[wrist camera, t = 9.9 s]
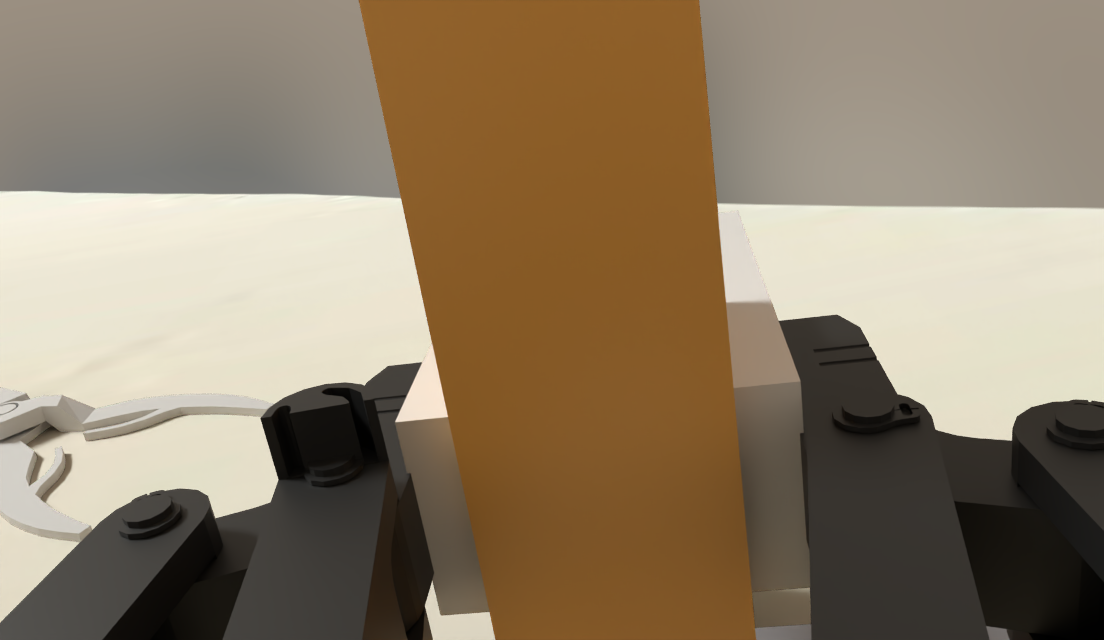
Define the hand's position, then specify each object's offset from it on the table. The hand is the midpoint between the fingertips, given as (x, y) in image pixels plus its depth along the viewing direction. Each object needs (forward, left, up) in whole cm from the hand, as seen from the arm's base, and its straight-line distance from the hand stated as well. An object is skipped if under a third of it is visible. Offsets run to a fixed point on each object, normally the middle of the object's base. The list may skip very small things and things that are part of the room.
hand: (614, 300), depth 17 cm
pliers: (-24, +18, -11) cm, 32 cm away
